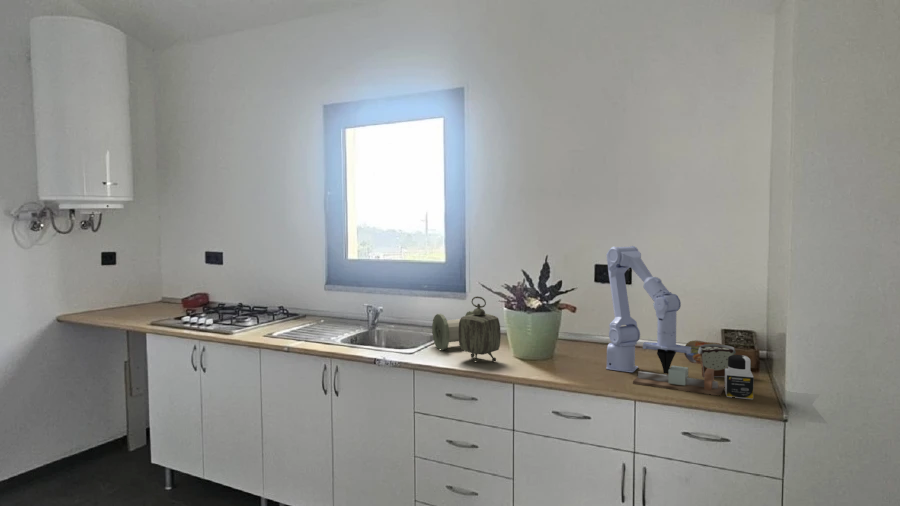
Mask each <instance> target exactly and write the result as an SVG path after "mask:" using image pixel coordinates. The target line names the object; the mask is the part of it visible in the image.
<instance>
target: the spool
mask: <svg viewBox="0 0 900 506" xmlns="http://www.w3.org/2000/svg"><path fill="white" fill-rule="evenodd" d="M473 311H474V310H468V311H467V312H466V313H465V314H464V315H465V316H468V315H472V313H473ZM460 319H461V318H460ZM460 319H449V320H447V317H445V315H444V314H443V313H436V314H435V315H434V317H433V319H432V325H431V329H432V330H431V331H432V340H433V342H434V346H435V347H436V349H437V348H439V349H441V350H442V351H446V350H447V349H448V347H449V344H450V343H454V342H459V322H460ZM439 349H438V350H439Z"/></svg>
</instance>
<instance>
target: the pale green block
mask: <svg viewBox="0 0 900 506" xmlns="http://www.w3.org/2000/svg"><path fill="white" fill-rule="evenodd" d="M667 375H668V383H670V384H677V385H684V386H685V385H686V377H687V378H689V367H688V366H680V365H678V366H677V365H670V369H669V370H668V374H667Z"/></svg>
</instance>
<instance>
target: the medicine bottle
mask: <svg viewBox="0 0 900 506" xmlns="http://www.w3.org/2000/svg"><path fill="white" fill-rule="evenodd" d="M751 360H752V359H750V358H749V357H748V356H747V355H742V354H734V355H731V356H729V357H728V368H725V377H724V385H725V388H724V392H725V395H726V397H727V398H732V397H735V398H736V399H746V400H754V383H755V382H754V380H755V379H754V378H755V377H754V374H753V373H752V371H751ZM735 398H734V399H735Z"/></svg>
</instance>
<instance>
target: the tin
mask: <svg viewBox="0 0 900 506" xmlns="http://www.w3.org/2000/svg"><path fill="white" fill-rule="evenodd" d="M705 344H718V345H723V344H721V343H718V342H713V341H705V340H697V339H696V340H691V341H688V342H687V343H686V344H685V345H684V346H688V347H691V353H690V354H687V353H683V354H684V357H685V358H686V360H687V361H689V362H691V363H692V364H697V365H698V364H699V365H701V358H700V354H699V353H698V350H699V348H700V346H701V345H705Z"/></svg>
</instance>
